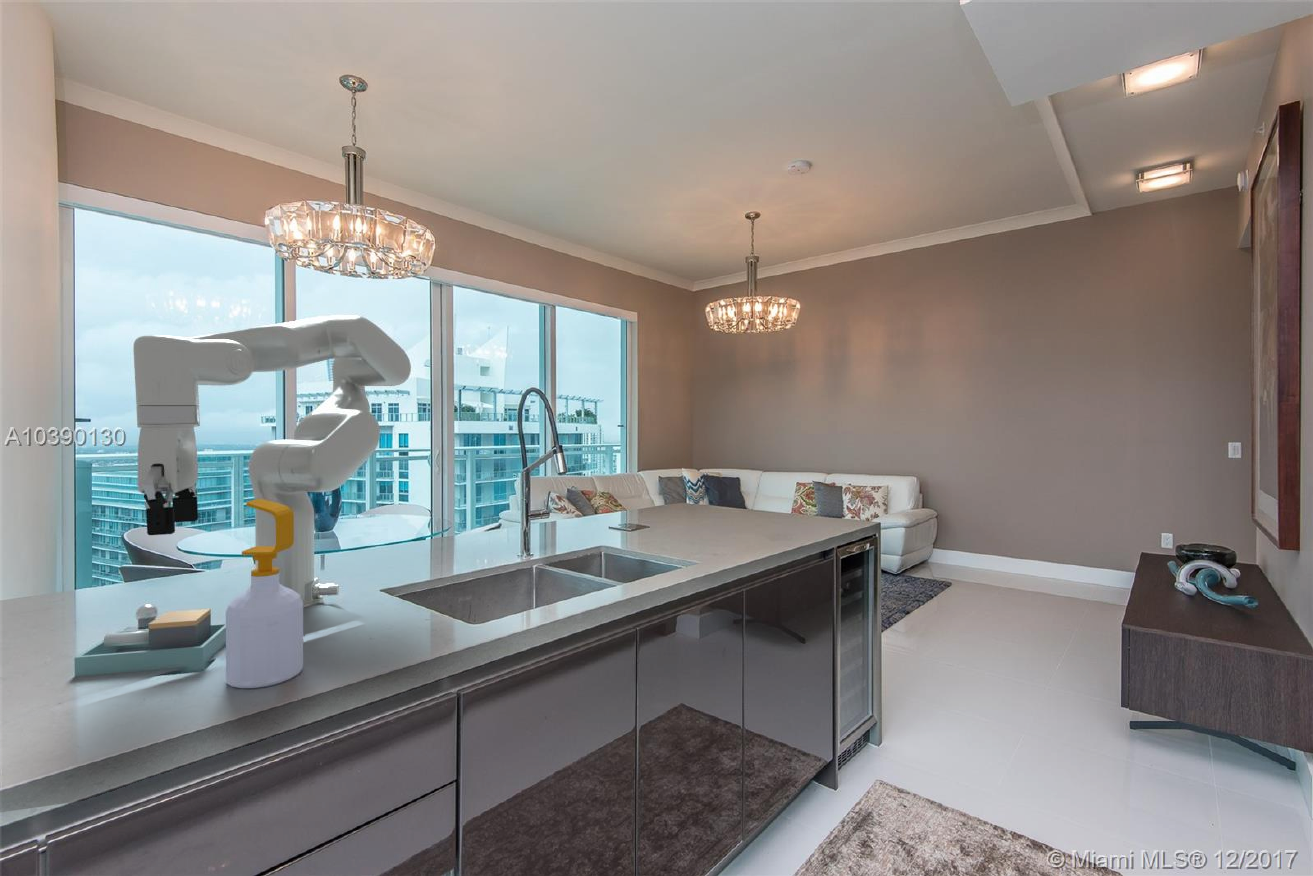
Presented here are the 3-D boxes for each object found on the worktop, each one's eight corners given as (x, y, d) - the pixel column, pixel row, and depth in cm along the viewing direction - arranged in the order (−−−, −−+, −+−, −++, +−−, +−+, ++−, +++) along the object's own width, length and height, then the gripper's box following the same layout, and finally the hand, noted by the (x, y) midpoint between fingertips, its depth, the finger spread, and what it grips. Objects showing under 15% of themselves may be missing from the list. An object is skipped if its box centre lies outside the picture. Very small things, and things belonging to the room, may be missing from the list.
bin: (230, 645, 96) (230, 623, 96) (203, 671, 86) (202, 647, 86) (117, 654, 92) (117, 631, 92) (74, 683, 82) (74, 657, 82)
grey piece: (192, 628, 103) (192, 595, 103) (167, 647, 95) (167, 611, 94) (127, 633, 100) (127, 598, 100) (96, 653, 92) (95, 615, 92)
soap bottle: (249, 663, 89) (249, 496, 88) (314, 662, 90) (314, 496, 89) (210, 690, 80) (209, 504, 79) (282, 689, 81) (282, 505, 80)
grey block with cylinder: (210, 649, 93) (210, 608, 93) (195, 663, 88) (195, 620, 87) (117, 657, 89) (117, 615, 89) (96, 672, 84) (95, 627, 84)
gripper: (162, 415, 100) (167, 518, 101) (111, 419, 84) (117, 542, 85) (216, 415, 103) (220, 515, 104) (176, 419, 87) (182, 538, 88)
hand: (174, 527), depth 95 cm, fingers open, 9 cm apart
